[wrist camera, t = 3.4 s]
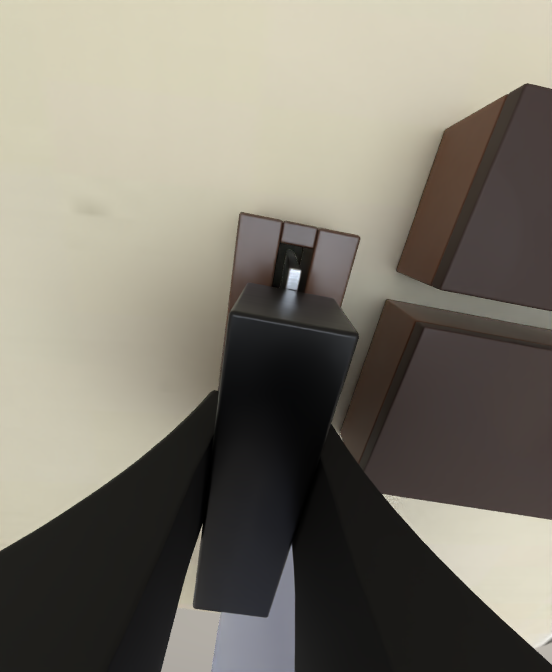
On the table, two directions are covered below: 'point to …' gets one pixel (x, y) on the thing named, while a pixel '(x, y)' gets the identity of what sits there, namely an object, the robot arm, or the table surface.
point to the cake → (455, 411)
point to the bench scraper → (268, 437)
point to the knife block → (316, 263)
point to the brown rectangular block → (490, 205)
